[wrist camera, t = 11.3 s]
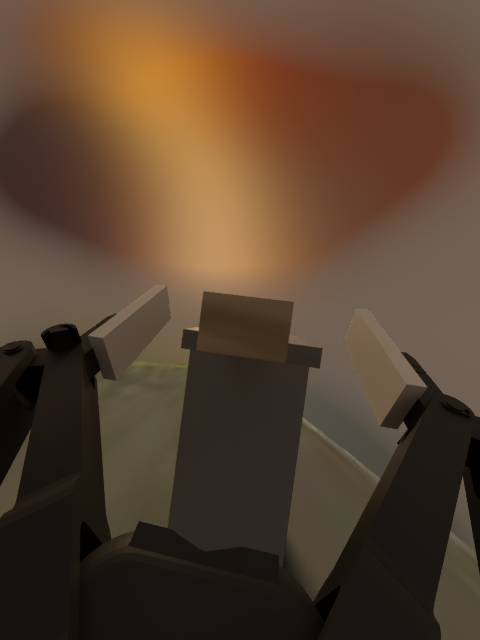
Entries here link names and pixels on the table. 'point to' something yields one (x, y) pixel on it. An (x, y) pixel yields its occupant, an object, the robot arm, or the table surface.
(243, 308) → the birch strip
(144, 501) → the table surface
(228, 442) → the grey stand
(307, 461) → the table surface
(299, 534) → the table surface
